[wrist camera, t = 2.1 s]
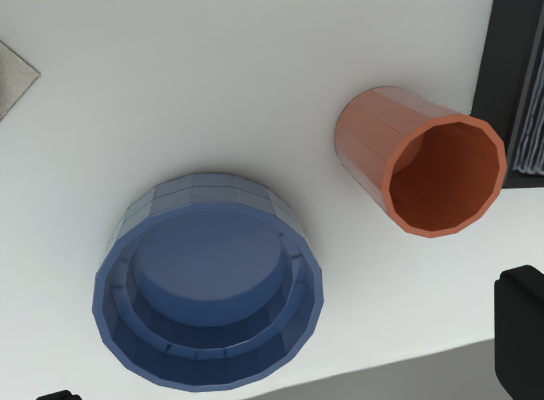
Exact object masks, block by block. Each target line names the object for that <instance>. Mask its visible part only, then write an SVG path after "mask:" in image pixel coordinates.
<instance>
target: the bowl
mask: <svg viewBox="0 0 544 400" xmlns="http://www.w3.org/2000/svg"><path fill="white" fill-rule="evenodd" d="M323 302H324V298H323V285H322V271H321V268H320V266H319V264H318V261H317V259H316V257H315V255H314V253H313V251H312V248H311V246H310V244H309V242H308V240H307V237H306V235H305V233H304V231H303V229H302V228H301V226H300V224H299V222H298V220H297V218H296V216H295V214H294V213H293V211H292V209H291V208H290V206H288V205H287V204H286V203H285V202H284V201H282V200H281V199H280V198H279V197H278V196H276V195H275V194H274V193H273V192H272V191H271V190H269V189H268V188H267V187H266V186H263V185H261V184H258V183H255V182H252V181H249V180H247V179H244V178H241V177H238V176H235V175H233V174H190V175H187V176H184V177H181V178H178V179H175V180H172V181H169V182H166V183H163V184H160V185H158V186H156V187H154V188H153V189H152V190H150V191H149V192H148V193H147V194H145V195H144V196H143V197H141V198H140V199H139V200H138V201H136V202H135V203H134V204H132V205H131V206H130V207H129V208H128V209H127V211H126V212H125V214H124V216H123V218H122V219H121V221H120V223H119V224H118V226H117V228H116V229H115V231H114V233H113V235H112V236H111V239H110V241H109V244H108V246H107V249H106V251H105V254H104V256H103V258H102V261H101V263H100V266H99V268H98V271H97V273H96V277H95V286H94V295H93V304H92V312H93V315H94V318H95V321H96V324H97V327H98V330H99V333H100V335H101V338H102V341H103V343H104V344H105V345H106V347H107V348H108V349H109V350H110V351H111V352H112V353H113V354H114V355H115V357H116V358H117V359H118V360H119V361H120V362H121V363H122V364H123V366H124V367H125V368H127V369H128V370H130V371H132V372H134V373H136V374H138V375H139V376H141V377H143V378H145V379H147V380H149V381H150V382H152V383H154V384H156V385H159V386H164V387H168V388H173V389H178V390H183V391H188V392H209V391H224V390H232V389H235V388H238V387H241V386H244V385H247V384H249V383H252V382H255V381H258V380H261V379H263V378H266V377H267V376H269V375H270V374H272V373H273V372H275V371H276V370H277V369H279V368H280V367H282V366H283V365H285V364H286V363H288V362H289V361H291V360H292V359H293V358H294V357H295V356H296V354H297V353H298V352H299V351H300V349H301V348H302V347H303V345H304V344H305V343H306V342H307V340H308V339H309V338H310V337H311V335H312V334H313V332H314V330H315V327H316V324H317V321H318V318H319V315H320V312H321V309H322V306H323Z"/></svg>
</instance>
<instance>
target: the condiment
mask: <svg viewBox="0 0 544 400" xmlns="http://www.w3.org/2000/svg"><path fill="white" fill-rule="evenodd" d="M38 75H39V73H38V72H36V71H35V70H34V69H33V68H32V67H30V66H29V65H28V64H26V63H25V62H24V61H23V60H22V59H21V58H20V57H18V56H17V55H16V54H15V53H13V52H12V51H11V50H9V49H8V48H7V47H6V46H5V45H4V44H2V43H1V42H0V120H1V118H2V117H3V116H4V115H5V114H6V113H7V112H8V111H9V110H10V108H11V107H12V106H13V104H14V103H15V102H16V101H17V100H18V98H19V97H20V96H21V95H22V94H23V93H24V92H25V91H26V89H27V88H28V87H29V86H30V84H31V83H32V82H33V81H34V80H35V79H36V77H37V76H38Z"/></svg>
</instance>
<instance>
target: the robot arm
mask: <svg viewBox="0 0 544 400" xmlns="http://www.w3.org/2000/svg"><path fill="white" fill-rule="evenodd" d="M494 322H495V372H496V375H497V378H498V380H499V382H500V383H501V385H502V386H503V387H504V389H505V390H506V391H507V392H508V394H509V395H510V396H511V397H512V399H513V400H544V274H542V273H541V272H540V271H538V270H537V269H536V268H534V267H533V266H531V265H524V266H521V267H517V268H513V269H510V270H506V271H503V272H502V273H501V274H500V279H499V280H496V281H495V284H494ZM36 400H82V399H81V397H80V396H79V395H77V394H76V395H72V394H71V392H70V391H68V390H63V391H59V392H56V393H52V394H48V395H45V396H41V397H39V398H37V399H36Z"/></svg>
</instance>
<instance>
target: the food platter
mask: <svg viewBox="0 0 544 400" xmlns="http://www.w3.org/2000/svg"><path fill="white" fill-rule="evenodd" d="M471 116H473V117H476V118H479V119H481V120H484V121H486V122H488V123H489V125H490V126H491V127H492V128H493V130H494V131H495V132H496V133H497V134H498V136H499V137H500V138H501V139H502V141H503V143H504V149H505V156H506V163H507V170H506V174H505V177H504V180H503V183H502V187H501V189H508V188H537V187H544V0H494V3H493V8H492V13H491V18H490V23H489V28H488V33H487V38H486V43H485V48H484V53H483V58H482V63H481V68H480V73H479V78H478V83H477V88H476V93H475V98H474V103H473V108H472V113H471Z"/></svg>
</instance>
